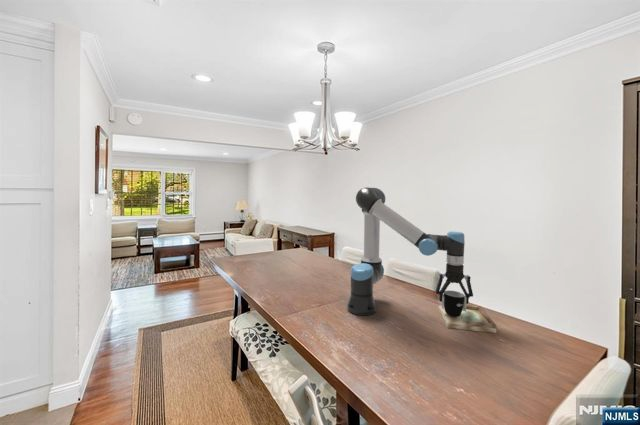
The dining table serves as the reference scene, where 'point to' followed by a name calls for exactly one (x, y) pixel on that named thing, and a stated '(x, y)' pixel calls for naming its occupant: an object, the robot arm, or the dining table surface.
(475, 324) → the board
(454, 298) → the mug
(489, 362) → the dining table surface
